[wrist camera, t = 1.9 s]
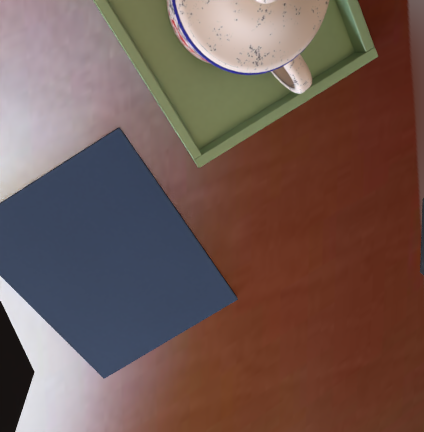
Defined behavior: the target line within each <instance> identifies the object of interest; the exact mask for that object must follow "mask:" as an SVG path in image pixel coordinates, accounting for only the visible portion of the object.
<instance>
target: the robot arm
mask: <svg viewBox="0 0 424 432" xmlns="http://www.w3.org/2000/svg"><path fill="white" fill-rule="evenodd" d="M420 273H422V274H423V275H424V198H423V208H422V237H421V265H420ZM33 375H34V370H33V368H32V366H31V364H30V362H29V359H28V357H27V355H26V353H25V351H24V349H23V347H22V345H21V343H20V341H19V338H18V336H17V334H16V332H15V330H14V328H13V326H12V324H11V322H10V320H9V317H8V315H7V313H6V311H5V309H4V307H3V305H2V303H1V301H0V432H15V430H16V427H17V424H18V421H19V418H20V415H21V412H22V409H23V406H24V403H25V400H26V397H27V393H28V390H29V387H30V384H31V381H32V378H33Z"/></svg>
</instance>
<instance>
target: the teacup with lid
mask: <svg viewBox="0 0 424 432" xmlns="http://www.w3.org/2000/svg"><path fill="white" fill-rule="evenodd" d="M166 3H167V12H168V17H169V21H170V24H171V26H172V29H173V31H174V33H175V35H176V37H177V38H178V40H179V41H180V43H181V44H182V45H183V46H184V47H185V49H187V50H188V51H189V52H190V53H191V54H192V55H193V56H195V57H197V58H198V59H200V60H202V61H204V62H207V63H210V64H213V65H214V66H216V67H218V68H220V69H222V70H225V71H228V72H231V73H235V74H241V75H257V74H263V73H267V72H272V74H273V75H274V76H275V77H276V78H277V79H278V80H279V81H280V82H281V83H282V84H283V85H284V86H285V87H287V88H288V89H289V90H291V91H292V92H295V93H298V94H300V93H303V92H305V91H306V90H307V89H308V88H309V87H310V86H311V85H312V76H311V73H310V70H309V68H308V66H307V64H306V63H305V61H304V59H303V58H302V56H301V55H300V53H301V52H303V51H304V49H305V48H306V47H307V46H308V45H309V44H310V42H311V41H312V39H313V38H314V36H315V35H316V33H317V31H318V30H319V28H320V26H321V24H322V22H323V19H324V17H325V14H326V11H327V8H328V4H329V0H166Z"/></svg>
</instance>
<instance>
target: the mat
mask: <svg viewBox="0 0 424 432" xmlns="http://www.w3.org/2000/svg"><path fill="white" fill-rule="evenodd" d="M0 276H1V277H2V278H3V279H4V280H5V281H6V282H7V283H8V284H9V285H10V286H11V287H12V288H13V289H14V290H15V291H16V292H17V293H18V294H19V295H20V296H21V297H22V298H23V299H24V300H25V301H26V302H27V303H28V304H29V305H30V306H31V307H32V308H33V309H34V310H35V311H36V312H37V313H38V314H39V315H40V316H41V317H42V318H43V319H44V320H45V321H46V322H47V323H48V324H50V325H51V326H52V327H53V328H54V329H55V330H56V331H57V332H58V333H59V334H60V335H61V336H62V337H63V338H64V339H65V340H66V341H67V342H68V343H69V344H70V345H71V346H72V347H73V348H74V349H75V350H76V351H77V352H78V353H79V354H80V355H81V356H82V357H83V358H84V359H85V360H86V361H87V362H88V363H89V364H90V365H91V366H92V367H93V368H94V369H95V370H96V371H97V372H98V373H99V374H100V375H101V376H102V377H103V378H106V377H108V376H109V375H111V374H113V373H115V372H116V371H118V370H120V369H121V368H123V367H125V366H126V365H128V364H130V363H131V362H133V361H135V360H136V359H138V358H140V357H141V356H143V355H145V354H147V353H148V352H150V351H152V350H153V349H155V348H157V347H158V346H160V345H162V344H163V343H165V342H167V341H168V340H170V339H172V338H174V337H175V336H177V335H179V334H180V333H182V332H184V331H185V330H187V329H189V328H190V327H192V326H194V325H195V324H197V323H199V322H200V321H202V320H204V319H206V318H207V317H209V316H211V315H212V314H214V313H216V312H217V311H219V310H221V309H222V308H224V307H226V306H227V305H229V304H231V303H233V302H234V301H236V300H238V299H237V297H236V295H235V294H234V292H233V291H232V289H231V288H230V287H229V285H228V284H227V282H226V281H225V279H224V278H223V276H222V275H221V274H220V272H219V271H218V269H217V268H216V266H215V265H214V263H213V262H212V261H211V259H210V258H209V256H208V255H207V253H206V252H205V250H204V249H203V248H202V246H201V245H200V243H199V242H198V240H197V239H196V237H195V236H194V235H193V233H192V232H191V230H190V229H189V227H188V226H187V224H186V223H185V222H184V220H183V219H182V217H181V216H180V214H179V213H178V211H177V210H176V209H175V207H174V206H173V204H172V203H171V201H170V200H169V198H168V197H167V196H166V194H165V193H164V191H163V190H162V188H161V187H160V185H159V184H158V183H157V181H156V180H155V178H154V177H153V175H152V174H151V172H150V171H149V170H148V168H147V167H146V165H145V164H144V162H143V161H142V159H141V158H140V157H139V155H138V154H137V152H136V151H135V149H134V148H133V146H132V145H131V144H130V142H129V141H128V139H127V138H126V136H125V135H124V133H123V132H122V131H121V129H120V128H117V129H116V130H114V131H113V132H111V133H110V134H108V135H106V136H105V137H103V138H102V139H100V140H99V141H97V142H95V143H94V144H92V145H91V146H89V147H88V148H86V149H85V150H83V151H81V152H80V153H78V154H77V155H75V156H74V157H72V158H70V159H69V160H67V161H66V162H64V163H63V164H61V165H60V166H58V167H56V168H55V169H53V170H52V171H50V172H49V173H47V174H45V175H44V176H42V177H41V178H39V179H38V180H36V181H34V182H33V183H31V184H30V185H28V186H27V187H25V188H24V189H22V190H20V191H19V192H17V193H16V194H14V195H13V196H11V197H9V198H8V199H6V200H5V201H3V202H2V203H0Z"/></svg>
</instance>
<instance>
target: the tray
mask: <svg viewBox="0 0 424 432" xmlns="http://www.w3.org/2000/svg"><path fill="white" fill-rule="evenodd" d="M93 1H94V3H95V4H96V6H97V7H98V9H99V11H100V12H101V14H102V15H103V17H104V19H105V20H106V22H107V23H108V25H109V27H110V28H111V30H112V31H113V33H114V35H115V36H116V38H117V39H118V41H119V42H120V44H121V46H122V47H123V49H124V50H125V52H126V54H127V55H128V57H129V58H130V60H131V62H132V63H133V65H134V66H135V68H136V69H137V71H138V73H139V74H140V76H141V77H142V79H143V81H144V82H145V84H146V85H147V87H148V89H149V90H150V92H151V93H152V95H153V96H154V98H155V100H156V101H157V103H158V104H159V106H160V108H161V109H162V111H163V112H164V114H165V116H166V117H167V119H168V120H169V122H170V124H171V125H172V127H173V128H174V130H175V131H176V133H177V135H178V136H179V138H180V139H181V141H182V143H183V144H184V146H185V147H186V149H187V151H188V152H189V154H190V155H191V157H192V158H193V160H194V162H195V163H196V165H197V166H198V168H200V167H201V166H203V165H205V164H206V163H208V162H209V161H211V160H213V159H214V158H216V157H217V156H219V155H221V154H222V153H224V152H225V151H227V150H229V149H230V148H232V147H233V146H235V145H237V144H238V143H240V142H241V141H243V140H245V139H246V138H248V137H250V136H251V135H253V134H254V133H256V132H258V131H259V130H261V129H262V128H264V127H266V126H267V125H269V124H270V123H272V122H274V121H275V120H277V119H278V118H280V117H282V116H283V115H285V114H286V113H288V112H290V111H291V110H293V109H295V108H296V107H298V106H299V105H301V104H303V103H304V102H306V101H307V100H309V99H311V98H312V97H314V96H315V95H317V94H319V93H320V92H322V91H323V90H325V89H327V88H328V87H330V86H332V85H333V84H335V83H336V82H338V81H340V80H341V79H343V78H344V77H346V76H348V75H349V74H351V73H352V72H354V71H356V70H357V69H359V68H360V67H362V66H364V65H365V64H367V63H368V62H370V61H372V60H373V59H375V58H377V57H378V55H377V52H376V49H375V47H374V44H373V41H372V39H371V36H370V33H369V30H368V28H367V25H366V22H365V19H364V16H363V14H362V11H361V8H360V5H359V3H358V0H329V4H328V8H327V11H326V14H325V17H324V19H323V22H322V24H321V26H320V28H319V30H318V31H317V33H316V35H315V36H314V38H313V39H312V41H311V42H310V44H309V45H308V46H307V47H306V48H305V49H304V51H303V52H301V53H300V55H301V56H302V58H303V59H304V61H305V63H306V64H307V66H308V68H309V70H310V73H311V76H312V85H311V86H310V87H309V88H308V89H307V90H306V91H305V92H303V93H300V94H298V93H295V92H292V91H291V90H289V89H288V88H287V87H285V86H284V85H283V84H282V83H281V82H280V81H279V80H278V79H277V78H276V77H275V76H274V75H273V74H272V72H267V73H263V74H257V75H241V74H235V73H231V72H228V71H225V70H222V69H220V68H218V67H216V66H214V65H213V64H210V63H207V62H204V61H202V60H200V59H198V58H197V57H195V56H193V55H192V54H191V53H190V52H189V51H188V50H187V49H185V47H184V46H183V45H182V44H181V43H180V41H179V40H178V38H177V37H176V35H175V33H174V31H173V29H172V26H171V24H170V21H169V17H168V12H167V3H166V0H93Z"/></svg>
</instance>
